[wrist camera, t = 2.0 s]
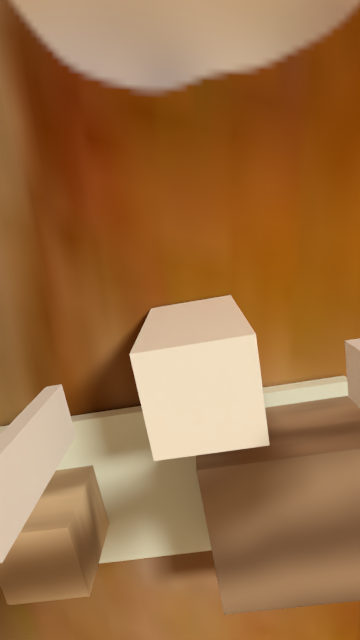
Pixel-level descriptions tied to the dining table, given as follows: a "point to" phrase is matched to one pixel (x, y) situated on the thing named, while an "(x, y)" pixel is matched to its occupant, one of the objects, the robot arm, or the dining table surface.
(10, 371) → the dining table surface
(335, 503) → the plinth
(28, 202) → the dining table surface
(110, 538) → the build board
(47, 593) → the oak cube
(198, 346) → the white block
